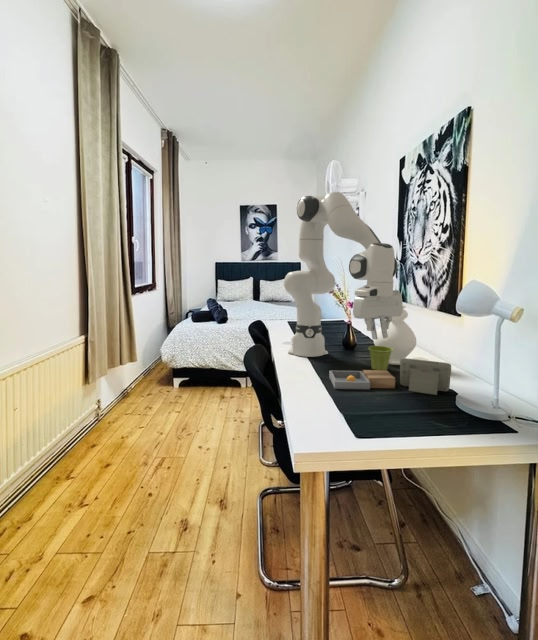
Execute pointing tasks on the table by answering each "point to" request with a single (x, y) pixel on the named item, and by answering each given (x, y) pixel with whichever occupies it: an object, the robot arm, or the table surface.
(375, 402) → the table surface
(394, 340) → the decorative vase
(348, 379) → the ball
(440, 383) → the digital clock
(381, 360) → the plant pot
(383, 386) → the stand
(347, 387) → the tray
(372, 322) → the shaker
